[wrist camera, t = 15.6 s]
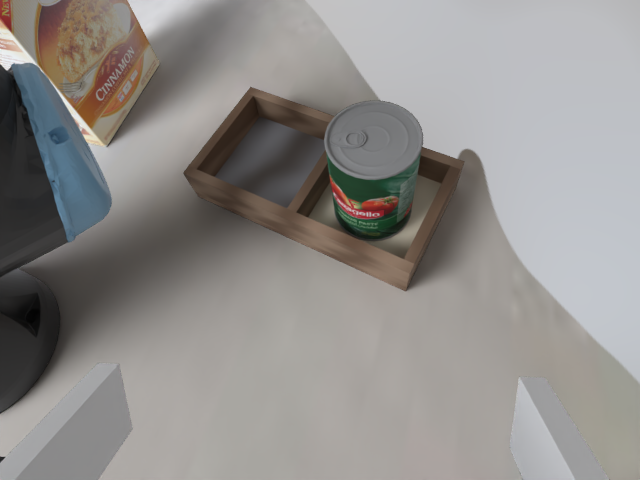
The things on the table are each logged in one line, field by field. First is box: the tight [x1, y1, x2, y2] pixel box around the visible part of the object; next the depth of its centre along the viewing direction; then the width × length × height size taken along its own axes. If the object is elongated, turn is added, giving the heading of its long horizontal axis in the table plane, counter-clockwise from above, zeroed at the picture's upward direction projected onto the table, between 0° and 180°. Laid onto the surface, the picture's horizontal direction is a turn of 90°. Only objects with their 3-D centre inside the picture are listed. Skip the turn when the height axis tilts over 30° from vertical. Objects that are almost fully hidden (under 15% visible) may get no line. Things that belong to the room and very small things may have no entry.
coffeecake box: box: [0, 0, 160, 147], centre depth 49 cm, size 15×7×20 cm, turn 162°
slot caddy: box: [183, 87, 464, 291], centre depth 45 cm, size 25×13×4 cm, turn 62°
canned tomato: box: [324, 101, 423, 241], centre depth 40 cm, size 8×8×11 cm
